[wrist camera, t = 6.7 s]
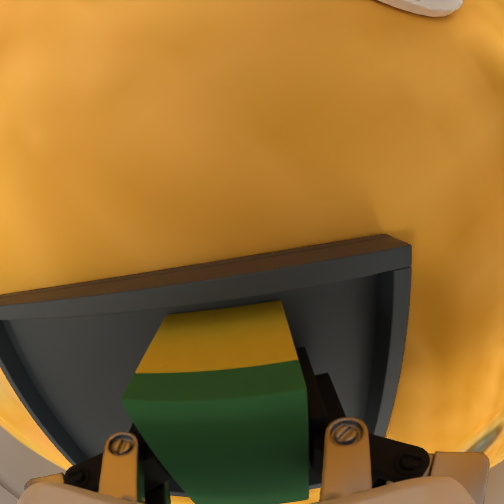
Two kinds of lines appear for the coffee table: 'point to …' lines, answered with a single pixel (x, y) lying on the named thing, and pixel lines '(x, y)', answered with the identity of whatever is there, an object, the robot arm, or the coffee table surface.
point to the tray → (200, 299)
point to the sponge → (225, 405)
